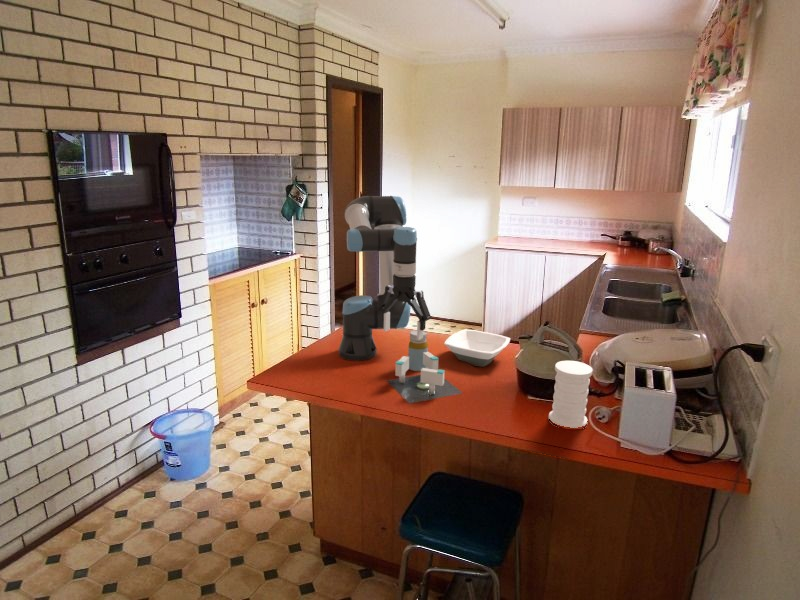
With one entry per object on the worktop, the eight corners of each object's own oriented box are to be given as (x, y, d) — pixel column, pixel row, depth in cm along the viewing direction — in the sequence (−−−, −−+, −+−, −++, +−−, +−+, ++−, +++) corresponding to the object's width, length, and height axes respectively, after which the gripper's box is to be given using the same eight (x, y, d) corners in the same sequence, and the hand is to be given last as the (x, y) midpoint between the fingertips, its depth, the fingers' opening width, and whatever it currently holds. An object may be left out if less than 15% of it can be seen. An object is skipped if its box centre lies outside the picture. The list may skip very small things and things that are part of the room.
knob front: (420, 392, 186) (420, 369, 184) (422, 389, 188) (422, 366, 186) (441, 396, 184) (442, 372, 182) (443, 393, 186) (444, 370, 184)
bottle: (425, 374, 204) (426, 336, 200) (406, 373, 205) (407, 335, 201) (428, 367, 211) (429, 330, 207) (410, 365, 212) (410, 328, 208)
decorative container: (543, 423, 170) (549, 369, 166) (554, 408, 180) (560, 357, 175) (581, 434, 165) (588, 378, 160) (591, 418, 174) (598, 365, 169)
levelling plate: (386, 383, 196) (386, 378, 196) (436, 375, 204) (436, 369, 204) (409, 406, 180) (409, 400, 179) (462, 396, 188) (463, 390, 187)
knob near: (402, 377, 198) (403, 355, 196) (408, 378, 198) (409, 356, 195) (395, 385, 191) (395, 362, 189) (401, 386, 191) (401, 363, 188)
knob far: (422, 373, 202) (422, 351, 199) (427, 372, 203) (428, 350, 200) (432, 381, 195) (432, 359, 193) (437, 380, 196) (438, 358, 194)
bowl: (494, 376, 204) (495, 355, 202) (438, 363, 215) (439, 343, 212) (513, 357, 222) (515, 337, 220) (461, 346, 233) (462, 327, 231)
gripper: (367, 271, 187) (367, 330, 193) (431, 282, 174) (428, 345, 180) (380, 267, 193) (379, 324, 199) (442, 277, 180) (440, 339, 186)
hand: (403, 334), depth 190 cm, fingers open, 13 cm apart
